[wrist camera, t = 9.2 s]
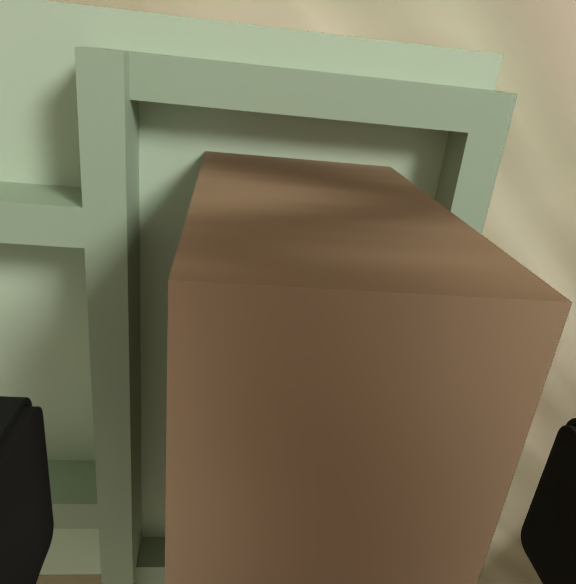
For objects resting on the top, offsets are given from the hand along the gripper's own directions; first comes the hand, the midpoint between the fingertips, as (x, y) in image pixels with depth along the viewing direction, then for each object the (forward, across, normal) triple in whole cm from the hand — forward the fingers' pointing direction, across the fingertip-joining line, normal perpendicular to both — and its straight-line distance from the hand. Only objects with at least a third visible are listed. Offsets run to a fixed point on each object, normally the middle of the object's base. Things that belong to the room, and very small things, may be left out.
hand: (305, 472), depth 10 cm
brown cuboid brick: (+4, 0, 0) cm, 4 cm away
